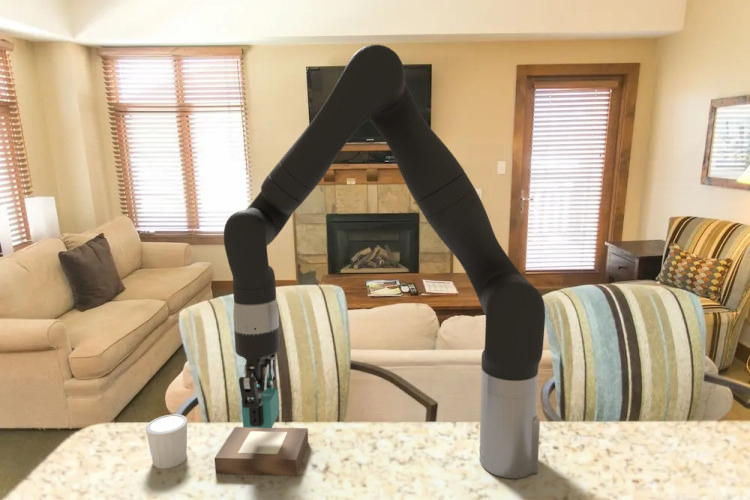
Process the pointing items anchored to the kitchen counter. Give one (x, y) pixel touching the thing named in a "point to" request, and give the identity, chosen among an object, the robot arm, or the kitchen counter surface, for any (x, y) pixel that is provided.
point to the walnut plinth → (262, 451)
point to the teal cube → (265, 409)
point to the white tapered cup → (168, 440)
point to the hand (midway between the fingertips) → (261, 416)
